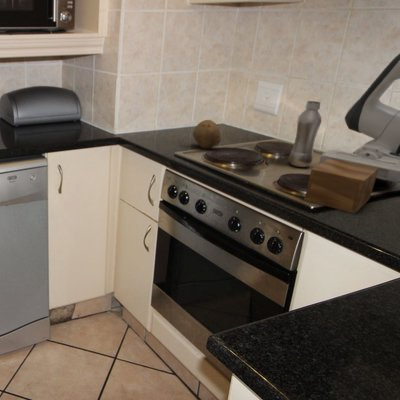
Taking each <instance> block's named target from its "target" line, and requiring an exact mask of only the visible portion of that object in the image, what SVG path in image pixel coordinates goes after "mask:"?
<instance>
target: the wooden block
mask: <svg viewBox="0 0 400 400" xmlns="http://www.w3.org/2000/svg"><path fill="white" fill-rule="evenodd" d="M378 170H379V168H375V167H370V166H365V165H361V164H356V163H351V162H346V161H341V160H336V159H332V158H328V159H327V160H325V161H324V162H322V163H320V162H319V164H317V165H315V166H314V167H313V168H311V170H310V175H309V178H308V183H307V186H306V191H305V194H304V199H303V201H306V202H310V203H314V204H317V205H320V206H323V207H324V206H325V207H328V208H332V209H335V210H339V211H343V212H346V213H351V214H356V213H357V212H358V211H359V210H360V209H361V208H362V207H363V206H364V205H365V204H366V203H367V202H368V201H370V199H371V195H372V192H373V189H374V186H375V183H376V180H377V178H376V176H377V173H378Z"/></svg>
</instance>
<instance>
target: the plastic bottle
mask: <svg viewBox="0 0 400 400" xmlns="http://www.w3.org/2000/svg"><path fill="white" fill-rule="evenodd" d="M304 108H305V110H304V111H303V112H301V113H300V115H298V118H297V121H296V122H297V124H296V134H295V139H294V143H293V147H292V149H291V151H290V153H289V156H288V162H289V165H292V166H294V167H299V168H308V167H309V166H310V165H311V164H312V162H313V159H314V158H313V157H314V145H315V142H316V138H317V134H318V132H319V129H320V127H321V125H322V116H321V114H320V112H319V110H320V109H321V102H320V101H315V100H313V101H312V100H307V101H306V104H305V106H304Z"/></svg>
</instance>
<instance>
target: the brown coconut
mask: <svg viewBox="0 0 400 400" xmlns="http://www.w3.org/2000/svg"><path fill="white" fill-rule="evenodd" d="M192 135H193V138H194V141H195V142H196V143H197V145H198V146H199V147H200V148H202V149H205V150H207V149H210V148H212V147H214V146H217V145H219V144H220V143H221V142H222V134H221V131H220V128H219V126H218V124H217V123H216V122H215V121H213V120H212V119H204V120H202V121H200V122H199V123H198V124H197V125H196V126H195V128H194V130H193V133H192Z"/></svg>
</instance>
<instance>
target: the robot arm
mask: <svg viewBox="0 0 400 400" xmlns="http://www.w3.org/2000/svg"><path fill="white" fill-rule="evenodd" d="M397 80H400V53H398V54H397V55H395V57H394V58H393V59H392V60H391V61H390V62H389V63H388V65H387V66H386V67H385V68H384V69H383V70H382V71H381V73H379V75H378V76H377V77H376V78H375V80H373V82H372V83H371V84H370V86H369V87H368V88H367V89H366V90H365V92H364V93H363V94H362V95H361V96H360V97H359V98H358V99H357V100H356V101H355V102H354V103H353V104H352V105H351V106H350V107H349V109H348V110H347V111H346V113H345V116H344V122H345V125H346V126H347V129H348V130H350V131H353V132H356V133H359V134H362V135H365V136H367V137H368V138H372V139H370V140H369V141H367V142H365V143H364V144H363V145H361V146H360V147H358V148H357V149H355V150H354V151H353V152H347V151H344V150H343V151H342V150H337V149H336V150H335V149H331V150H328V151H325V152H323V153H322V154H321V156H320V159H319V164H320V163H322V162H324V161H325V160H327V159H328V158H332V159H336V160H341V161H346V162H351V163H356V164H361V165H365V166H370V167H375V168H379V170H378V173H377V176H376V179H378V180H383V181H387V182H391V183H394V184H395V183H397V184H400V110H399V109H397V108H394V107H392V106H390V105H387V104H384V103H383V102H381V100H380V98H382V96H383V95H384V94H385V92H387V90H389V88H390V87H391V86H392V84H393V83H394V82H395V81H397Z"/></svg>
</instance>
